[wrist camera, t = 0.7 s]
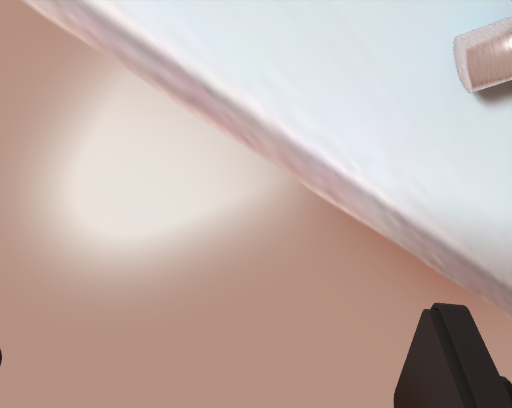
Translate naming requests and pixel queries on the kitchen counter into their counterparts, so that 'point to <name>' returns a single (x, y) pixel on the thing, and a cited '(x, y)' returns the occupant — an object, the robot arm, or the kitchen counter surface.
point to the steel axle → (484, 56)
